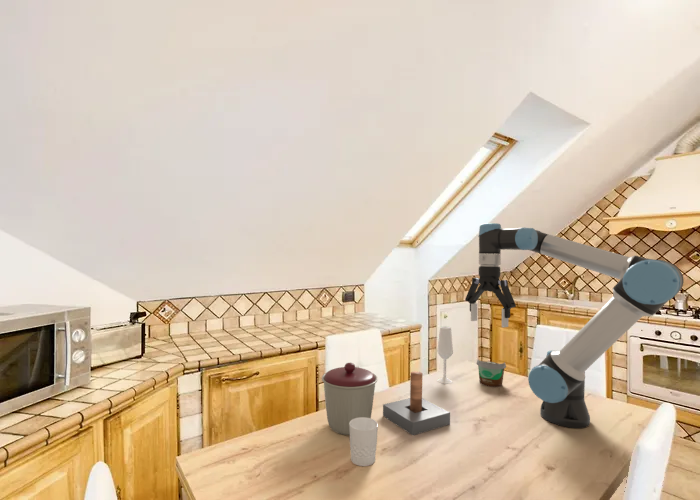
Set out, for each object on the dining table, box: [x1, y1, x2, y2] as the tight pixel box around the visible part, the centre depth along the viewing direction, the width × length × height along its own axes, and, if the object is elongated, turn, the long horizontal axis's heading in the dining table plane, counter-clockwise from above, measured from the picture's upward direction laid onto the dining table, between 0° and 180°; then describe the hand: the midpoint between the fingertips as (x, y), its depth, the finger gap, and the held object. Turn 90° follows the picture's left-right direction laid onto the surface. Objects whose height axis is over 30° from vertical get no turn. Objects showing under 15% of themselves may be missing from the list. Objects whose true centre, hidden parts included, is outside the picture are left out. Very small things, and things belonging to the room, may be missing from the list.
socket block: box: [382, 397, 451, 436], centre depth 130 cm, size 16×16×4 cm
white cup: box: [349, 417, 379, 467], centre depth 105 cm, size 8×8×10 cm
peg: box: [409, 370, 423, 413], centre depth 130 cm, size 4×4×16 cm
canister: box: [321, 362, 379, 436], centre depth 124 cm, size 18×18×21 cm
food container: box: [476, 359, 507, 388], centre depth 166 cm, size 12×6×10 cm, turn 62°
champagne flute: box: [436, 325, 454, 385], centre depth 170 cm, size 7×7×24 cm
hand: (488, 323), depth 139 cm, fingers open, 13 cm apart
